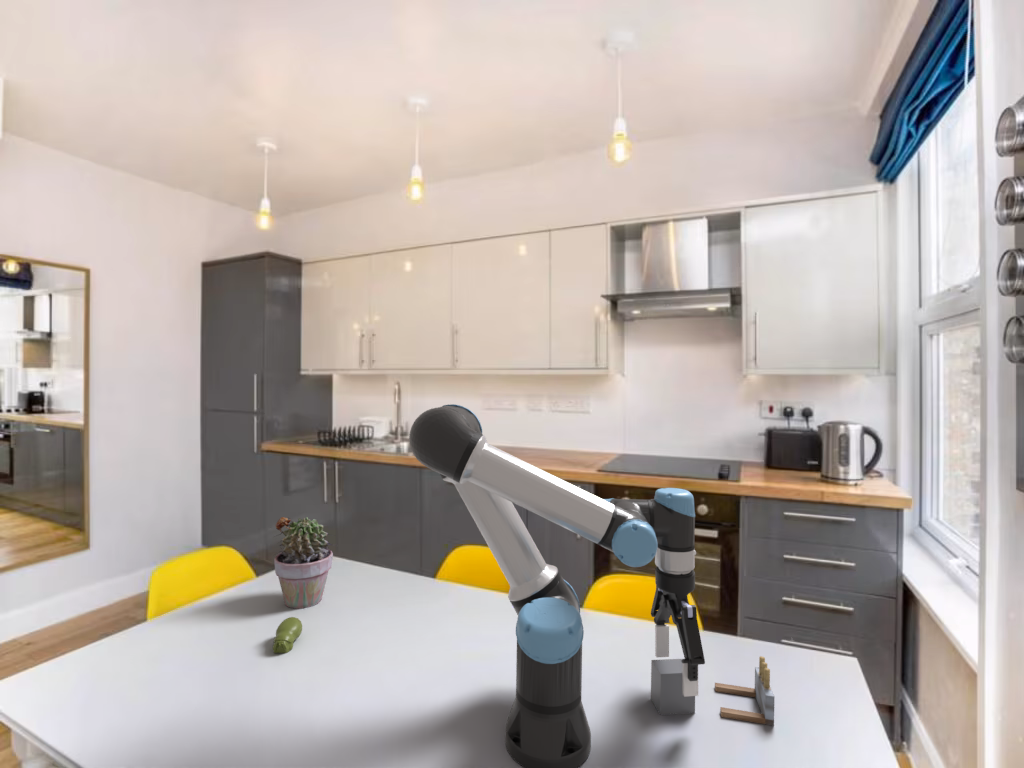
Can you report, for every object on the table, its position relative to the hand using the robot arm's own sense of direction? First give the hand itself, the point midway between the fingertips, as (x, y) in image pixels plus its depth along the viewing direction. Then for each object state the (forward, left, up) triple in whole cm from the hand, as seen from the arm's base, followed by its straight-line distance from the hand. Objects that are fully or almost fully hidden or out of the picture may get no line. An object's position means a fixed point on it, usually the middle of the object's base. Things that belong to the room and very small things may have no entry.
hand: (675, 674), depth 103 cm
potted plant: (+22, +100, -7) cm, 103 cm away
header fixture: (+4, -13, -6) cm, 15 cm away
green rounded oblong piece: (-1, +89, -7) cm, 90 cm away
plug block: (0, 0, -6) cm, 6 cm away
